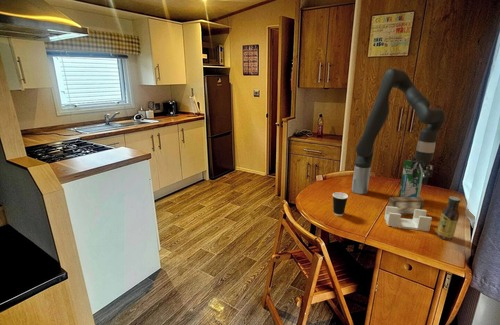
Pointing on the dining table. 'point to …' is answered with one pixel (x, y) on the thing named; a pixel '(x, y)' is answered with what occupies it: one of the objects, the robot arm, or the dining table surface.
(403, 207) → the grey tapered panel
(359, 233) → the dining table surface
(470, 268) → the dining table surface
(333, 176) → the dining table surface
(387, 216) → the white notched block
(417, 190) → the milk carton
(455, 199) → the sauce bottle
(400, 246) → the dining table surface
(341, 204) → the dixie cup
